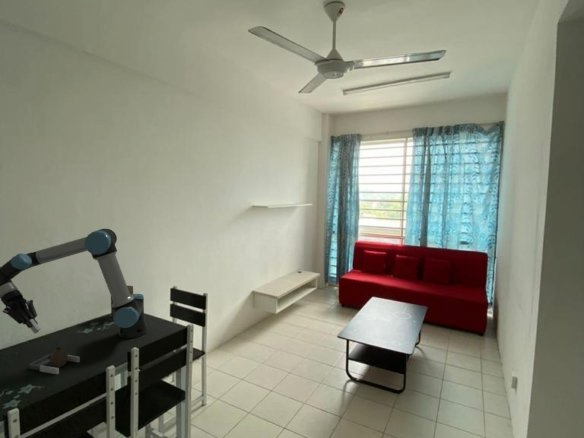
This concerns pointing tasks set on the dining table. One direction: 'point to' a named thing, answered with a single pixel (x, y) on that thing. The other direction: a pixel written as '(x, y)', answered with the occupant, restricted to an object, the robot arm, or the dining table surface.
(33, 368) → the grey flat frame
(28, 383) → the dining table surface
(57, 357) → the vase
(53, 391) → the dining table surface
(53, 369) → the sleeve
